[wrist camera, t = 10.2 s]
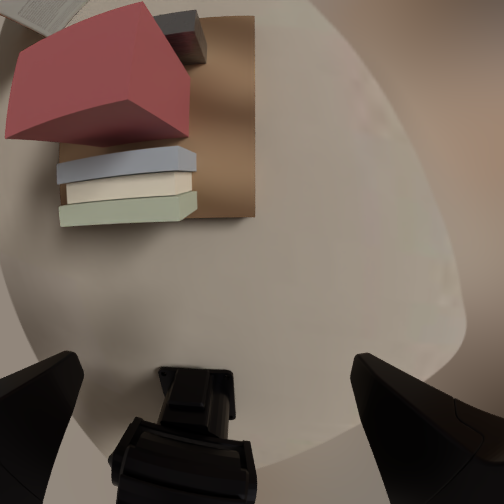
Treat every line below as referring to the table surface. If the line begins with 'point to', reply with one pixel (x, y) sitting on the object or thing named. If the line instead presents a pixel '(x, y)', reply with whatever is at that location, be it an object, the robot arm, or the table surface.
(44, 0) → the small box
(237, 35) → the shelf
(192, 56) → the bookend
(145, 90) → the red flat-faced block
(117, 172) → the shelved books
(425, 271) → the table surface
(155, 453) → the robot arm
